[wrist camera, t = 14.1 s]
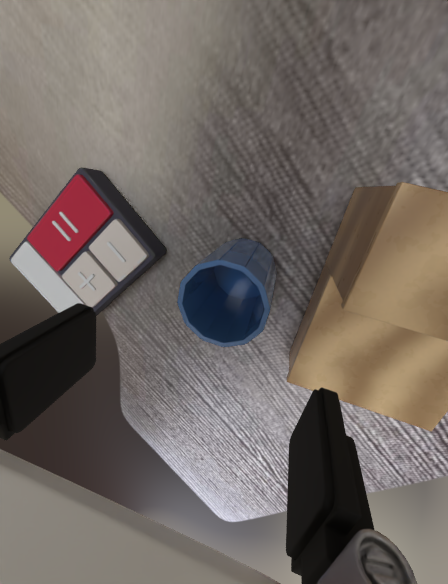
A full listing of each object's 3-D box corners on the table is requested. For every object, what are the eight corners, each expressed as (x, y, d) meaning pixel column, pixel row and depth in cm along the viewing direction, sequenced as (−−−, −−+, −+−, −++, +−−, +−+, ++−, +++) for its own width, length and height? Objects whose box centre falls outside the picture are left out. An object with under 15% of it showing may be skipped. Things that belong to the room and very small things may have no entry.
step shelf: (523, 225, 21) (737, 257, 11) (408, 392, 28) (473, 504, 18) (353, 185, 23) (402, 181, 13) (287, 352, 30) (284, 433, 20)
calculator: (153, 257, 26) (69, 333, 31) (170, 249, 29) (93, 318, 35) (74, 163, 24) (0, 260, 29) (103, 169, 28) (34, 253, 33)
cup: (284, 248, 26) (281, 277, 17) (265, 307, 29) (254, 357, 20) (220, 230, 27) (185, 249, 18) (207, 289, 29) (172, 330, 21)
